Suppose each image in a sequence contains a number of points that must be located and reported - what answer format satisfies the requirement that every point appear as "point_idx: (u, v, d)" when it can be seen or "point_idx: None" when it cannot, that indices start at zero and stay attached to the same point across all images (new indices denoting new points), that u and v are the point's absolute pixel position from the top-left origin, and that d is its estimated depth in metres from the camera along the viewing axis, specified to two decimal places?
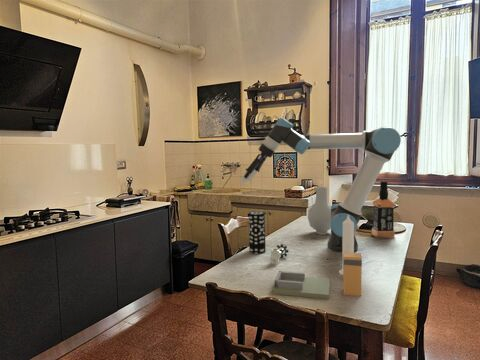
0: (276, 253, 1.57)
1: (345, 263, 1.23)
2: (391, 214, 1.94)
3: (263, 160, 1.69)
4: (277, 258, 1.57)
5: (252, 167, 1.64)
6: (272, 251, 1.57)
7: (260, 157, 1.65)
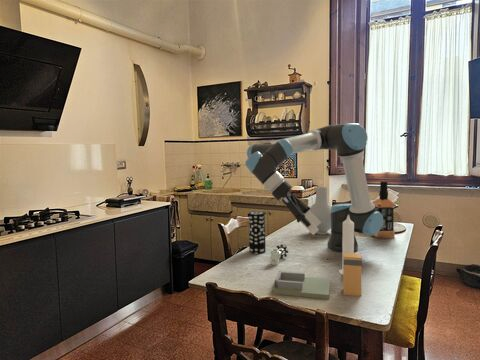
0: (276, 253, 1.56)
1: (345, 263, 1.23)
2: (391, 214, 1.94)
3: (293, 196, 1.27)
4: (277, 259, 1.56)
5: (296, 212, 1.20)
6: (272, 251, 1.57)
7: (286, 198, 1.23)
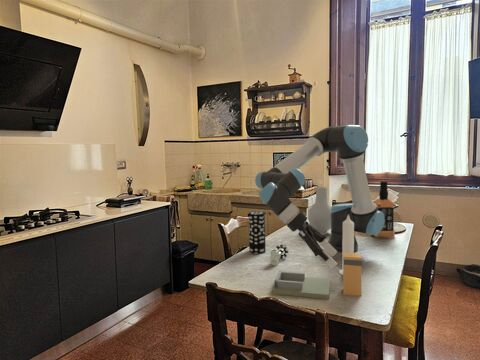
0: (275, 254, 1.56)
1: (345, 263, 1.23)
2: (391, 214, 1.94)
3: (309, 228, 1.25)
4: (276, 259, 1.56)
5: (314, 246, 1.18)
6: (271, 252, 1.56)
7: (303, 232, 1.21)
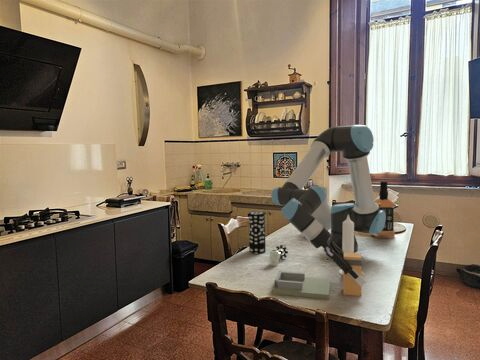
0: (275, 254, 1.55)
1: None
2: (391, 214, 1.94)
3: (334, 246, 1.24)
4: (276, 259, 1.55)
5: (344, 265, 1.20)
6: (271, 252, 1.56)
7: (331, 252, 1.20)
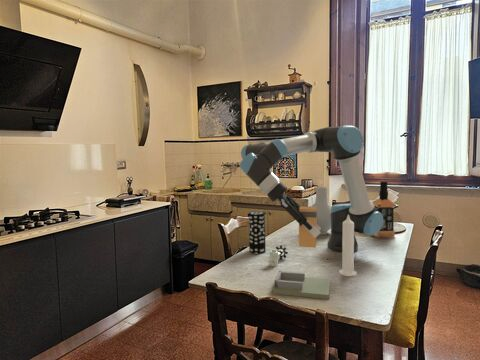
0: (274, 255, 1.55)
1: None
2: (391, 214, 1.94)
3: (289, 198, 1.26)
4: (275, 260, 1.54)
5: (298, 216, 1.22)
6: (270, 253, 1.55)
7: (285, 203, 1.22)
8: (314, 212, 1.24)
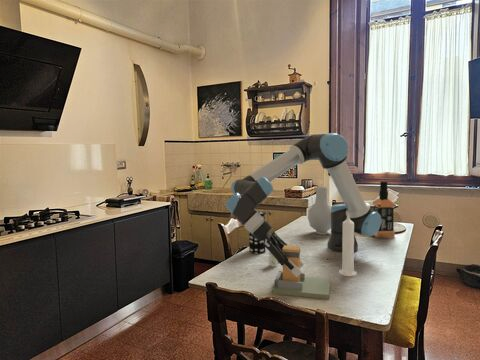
0: None
1: None
2: (391, 214, 1.94)
3: (273, 238, 1.30)
4: (275, 260, 1.54)
5: (279, 256, 1.24)
6: (270, 253, 1.55)
7: (268, 243, 1.26)
8: (297, 252, 1.28)
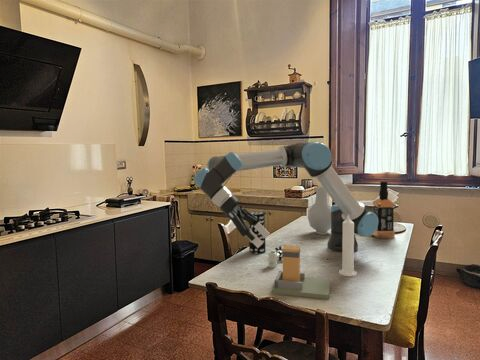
0: (273, 256, 1.53)
1: (284, 255, 1.29)
2: (391, 214, 1.94)
3: (239, 211, 1.32)
4: (274, 261, 1.53)
5: (240, 226, 1.25)
6: (269, 254, 1.54)
7: (231, 214, 1.28)
8: (297, 252, 1.28)
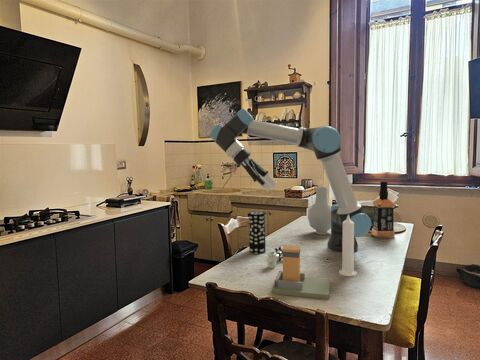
0: (273, 256, 1.52)
1: (284, 255, 1.29)
2: (391, 214, 1.94)
3: (250, 161, 1.49)
4: (274, 261, 1.52)
5: (252, 172, 1.42)
6: (269, 254, 1.53)
7: (244, 162, 1.45)
8: (297, 252, 1.28)
